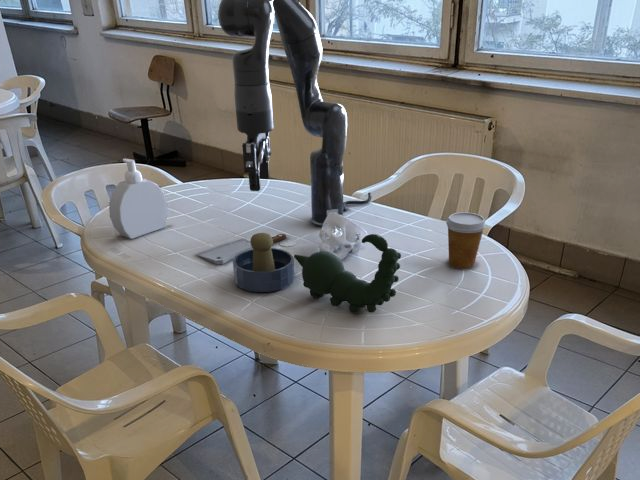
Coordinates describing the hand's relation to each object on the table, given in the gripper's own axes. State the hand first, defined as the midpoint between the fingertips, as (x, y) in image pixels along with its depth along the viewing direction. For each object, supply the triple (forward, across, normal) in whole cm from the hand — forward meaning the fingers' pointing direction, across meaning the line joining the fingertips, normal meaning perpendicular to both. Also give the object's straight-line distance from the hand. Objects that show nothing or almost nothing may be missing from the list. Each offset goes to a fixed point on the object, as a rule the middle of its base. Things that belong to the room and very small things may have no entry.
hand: (260, 184), depth 136 cm
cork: (+23, +1, -1) cm, 23 cm away
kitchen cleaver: (+23, -18, -10) cm, 31 cm away
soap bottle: (+23, -26, -42) cm, 55 cm away
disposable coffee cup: (+24, -15, +47) cm, 54 cm away
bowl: (+23, +1, 0) cm, 23 cm away
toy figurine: (+23, +10, +20) cm, 32 cm away
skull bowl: (+24, -18, +16) cm, 34 cm away
